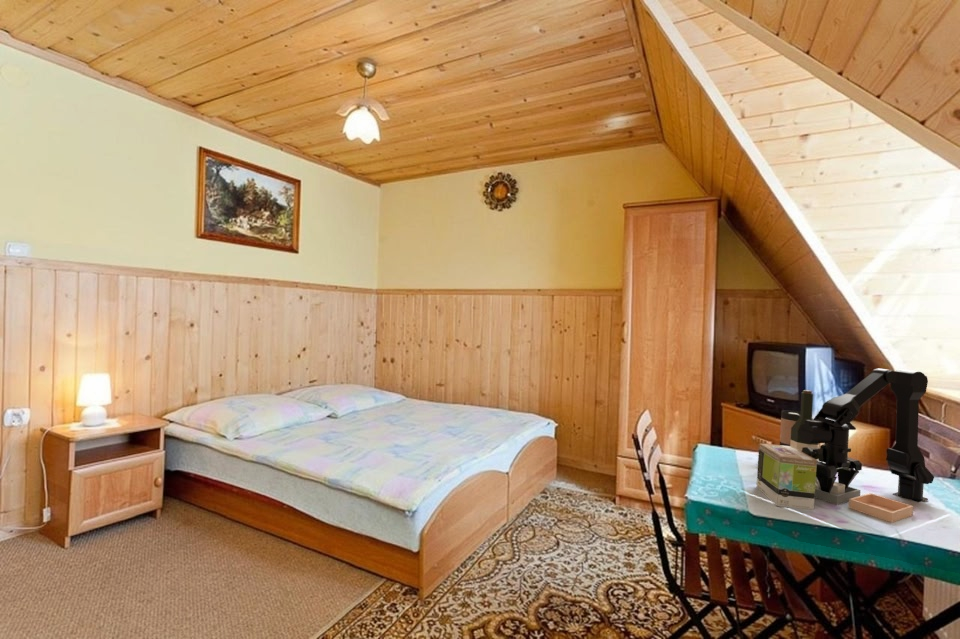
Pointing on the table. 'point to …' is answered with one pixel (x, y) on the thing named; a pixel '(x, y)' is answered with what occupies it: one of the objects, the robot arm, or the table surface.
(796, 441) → the wine bottle
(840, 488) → the beige cube
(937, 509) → the table surface
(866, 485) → the table surface
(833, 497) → the bin
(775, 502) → the tea box
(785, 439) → the travel mug
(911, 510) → the bin
